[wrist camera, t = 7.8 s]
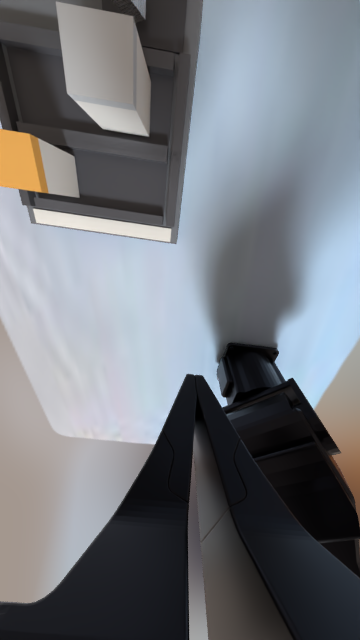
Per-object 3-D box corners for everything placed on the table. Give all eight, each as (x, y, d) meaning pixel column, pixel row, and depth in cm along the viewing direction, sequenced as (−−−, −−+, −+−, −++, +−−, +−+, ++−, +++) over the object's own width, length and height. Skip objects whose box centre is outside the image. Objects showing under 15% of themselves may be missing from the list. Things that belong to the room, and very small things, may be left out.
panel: (200, 30, 11) (204, -21, 9) (177, 240, 17) (175, 245, 15) (-2, -9, 11) (-58, -74, 8) (47, 222, 17) (23, 223, 14)
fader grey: (151, 82, 11) (133, 16, 7) (149, 137, 12) (133, 104, 8) (100, 73, 11) (55, 1, 7) (103, 129, 12) (67, 93, 8)
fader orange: (74, 156, 13) (29, 133, 9) (79, 197, 14) (41, 192, 10) (30, 149, 13) (-34, 123, 9) (39, 191, 14) (-14, 184, 10)
